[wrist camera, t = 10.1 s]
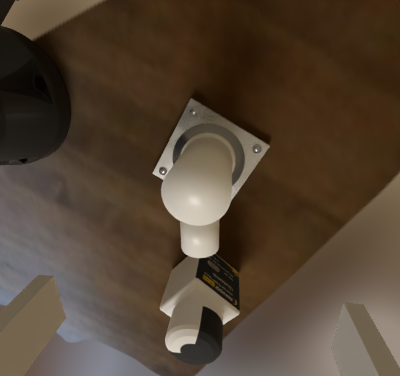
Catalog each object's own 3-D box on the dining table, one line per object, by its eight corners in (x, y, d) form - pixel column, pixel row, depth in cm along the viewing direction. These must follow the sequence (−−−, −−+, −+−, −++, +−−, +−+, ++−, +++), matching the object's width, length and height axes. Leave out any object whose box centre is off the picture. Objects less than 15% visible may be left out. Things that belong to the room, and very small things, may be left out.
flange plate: (154, 171, 32) (152, 173, 31) (192, 97, 28) (190, 98, 27) (222, 210, 32) (222, 213, 32) (269, 144, 28) (270, 146, 28)
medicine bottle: (239, 272, 36) (242, 356, 25) (206, 297, 39) (195, 382, 28) (202, 241, 35) (188, 316, 24) (171, 269, 37) (144, 347, 27)
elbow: (180, 131, 28) (154, 156, 19) (236, 132, 28) (237, 158, 18) (183, 206, 32) (163, 256, 23) (233, 208, 31) (232, 262, 22)
